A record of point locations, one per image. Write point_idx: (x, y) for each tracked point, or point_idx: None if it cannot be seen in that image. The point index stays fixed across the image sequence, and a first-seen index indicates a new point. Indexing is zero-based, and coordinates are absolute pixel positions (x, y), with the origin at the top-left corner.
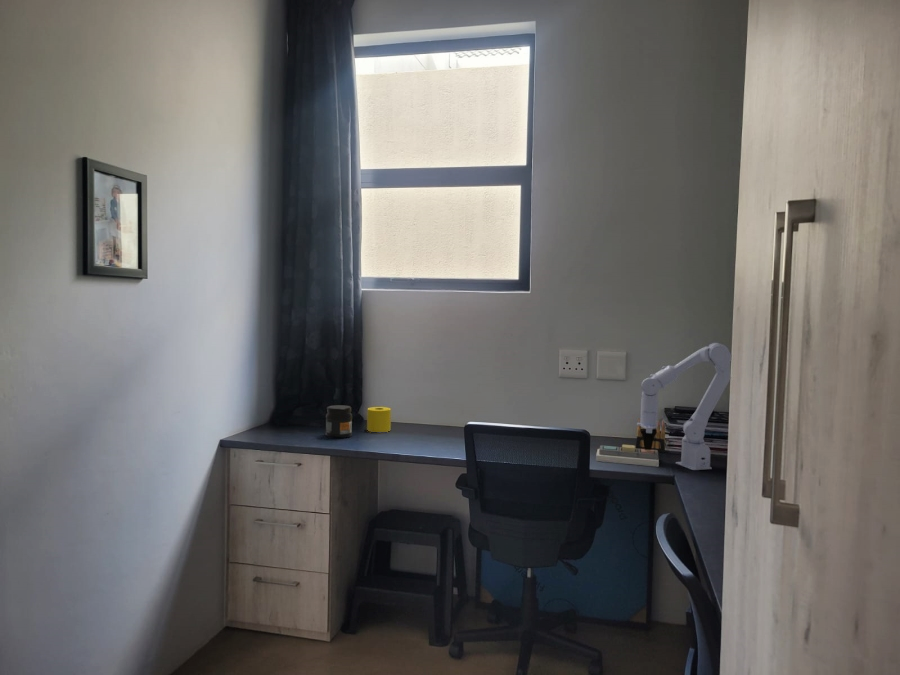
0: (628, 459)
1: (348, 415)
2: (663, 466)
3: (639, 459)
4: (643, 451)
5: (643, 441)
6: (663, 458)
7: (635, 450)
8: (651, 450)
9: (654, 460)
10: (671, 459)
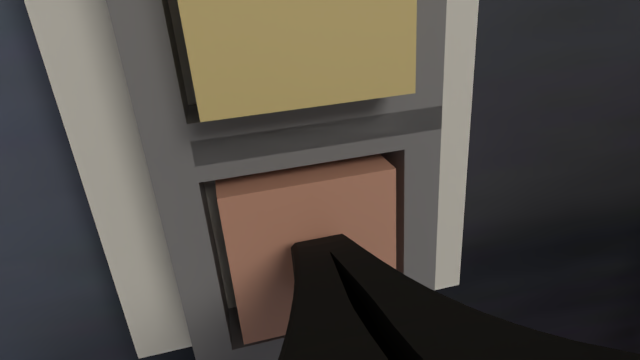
0: (35, 11)
1: None
2: None
3: (77, 167)
4: (240, 225)
5: (295, 307)
6: (484, 286)
7: None
8: None
9: (138, 320)
10: None
